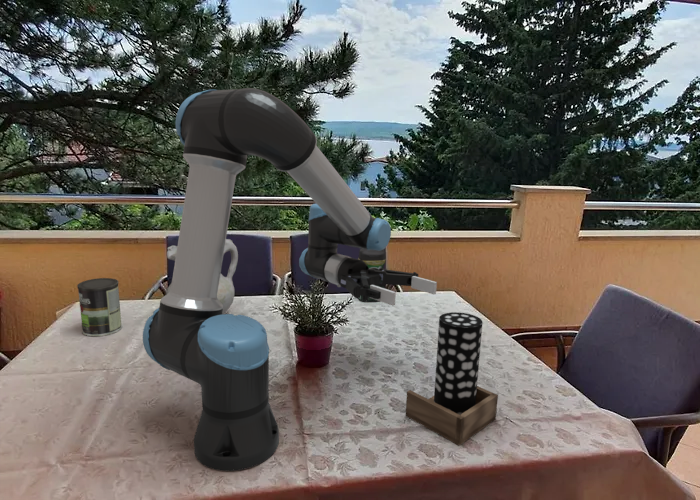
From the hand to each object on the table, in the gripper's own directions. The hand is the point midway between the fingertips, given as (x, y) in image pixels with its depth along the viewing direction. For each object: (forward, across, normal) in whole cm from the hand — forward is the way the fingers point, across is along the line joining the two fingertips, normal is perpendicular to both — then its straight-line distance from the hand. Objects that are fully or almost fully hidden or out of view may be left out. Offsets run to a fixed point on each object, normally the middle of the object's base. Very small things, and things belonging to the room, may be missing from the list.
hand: (415, 293), depth 100 cm
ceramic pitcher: (-70, +13, -24) cm, 75 cm away
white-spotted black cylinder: (+11, -2, -23) cm, 25 cm away
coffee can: (-82, +39, -25) cm, 94 cm away
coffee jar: (-52, -41, -22) cm, 70 cm away
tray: (+11, -1, -24) cm, 26 cm away
